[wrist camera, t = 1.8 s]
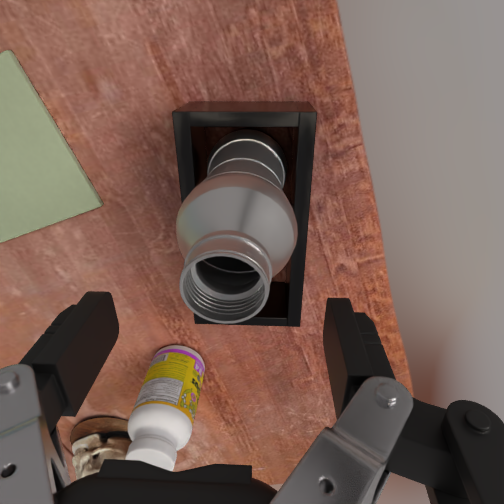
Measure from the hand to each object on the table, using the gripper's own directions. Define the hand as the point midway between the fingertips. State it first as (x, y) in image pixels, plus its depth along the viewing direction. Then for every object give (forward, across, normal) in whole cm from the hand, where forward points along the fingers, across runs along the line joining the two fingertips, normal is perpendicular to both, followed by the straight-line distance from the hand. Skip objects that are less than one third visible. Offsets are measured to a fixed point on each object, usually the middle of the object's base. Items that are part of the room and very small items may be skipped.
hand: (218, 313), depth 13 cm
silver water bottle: (+22, 0, 0) cm, 22 cm away
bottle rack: (+22, 0, +4) cm, 22 cm away
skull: (+22, +21, +42) cm, 52 cm away
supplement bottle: (+22, +9, +25) cm, 35 cm away
